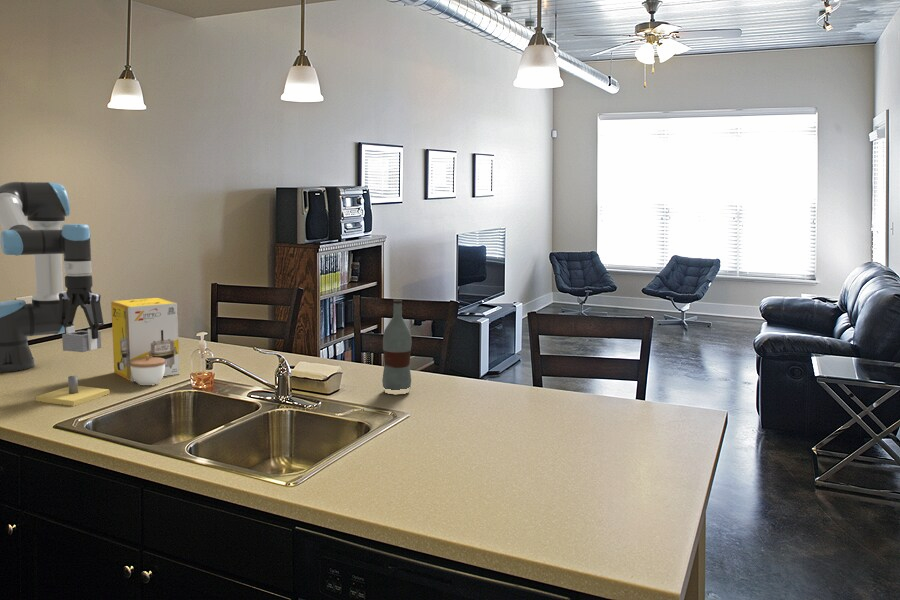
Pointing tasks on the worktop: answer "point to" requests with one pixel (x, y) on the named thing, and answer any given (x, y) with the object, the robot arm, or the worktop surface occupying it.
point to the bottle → (397, 351)
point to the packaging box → (144, 333)
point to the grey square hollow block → (78, 341)
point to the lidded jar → (147, 370)
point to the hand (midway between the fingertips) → (82, 348)
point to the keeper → (72, 394)
